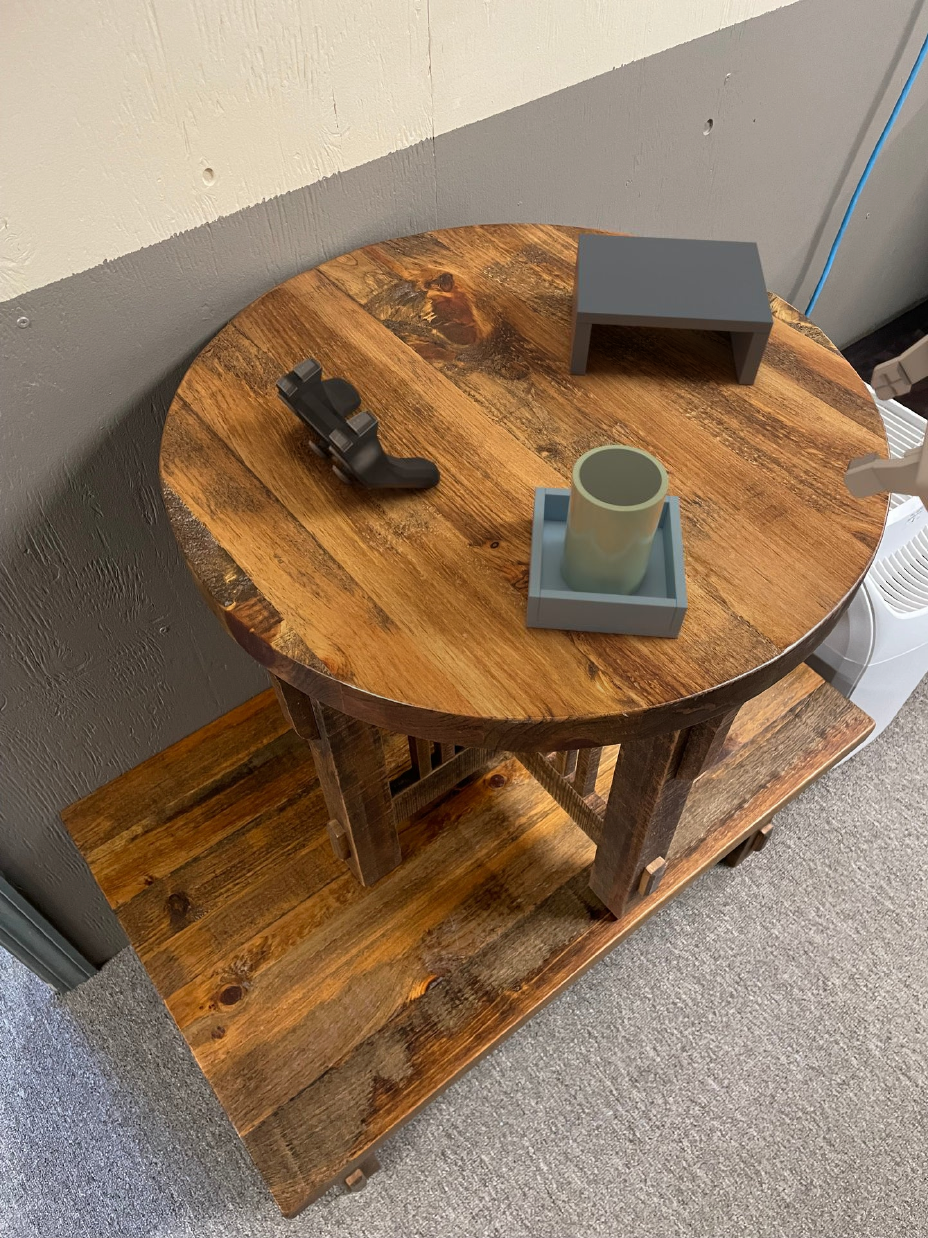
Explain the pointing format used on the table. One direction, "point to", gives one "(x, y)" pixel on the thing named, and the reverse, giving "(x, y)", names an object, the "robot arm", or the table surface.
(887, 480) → the robot arm
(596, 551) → the cup
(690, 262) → the shelf
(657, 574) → the open bin
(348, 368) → the table surface
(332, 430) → the game controller
